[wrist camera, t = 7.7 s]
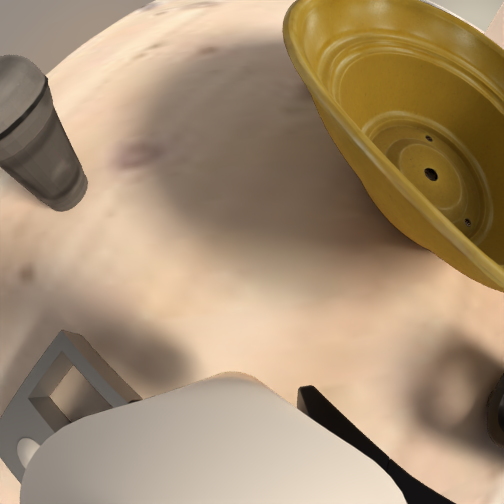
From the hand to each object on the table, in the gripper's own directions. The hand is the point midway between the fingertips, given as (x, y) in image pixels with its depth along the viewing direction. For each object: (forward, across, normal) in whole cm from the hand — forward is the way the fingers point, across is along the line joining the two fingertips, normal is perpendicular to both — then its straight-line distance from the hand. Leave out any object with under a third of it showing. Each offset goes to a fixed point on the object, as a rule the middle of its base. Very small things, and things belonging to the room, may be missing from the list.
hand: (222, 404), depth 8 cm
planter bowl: (+20, -20, -2) cm, 28 cm away
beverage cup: (+21, +14, -3) cm, 25 cm away
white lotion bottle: (+4, 0, +6) cm, 8 cm away
